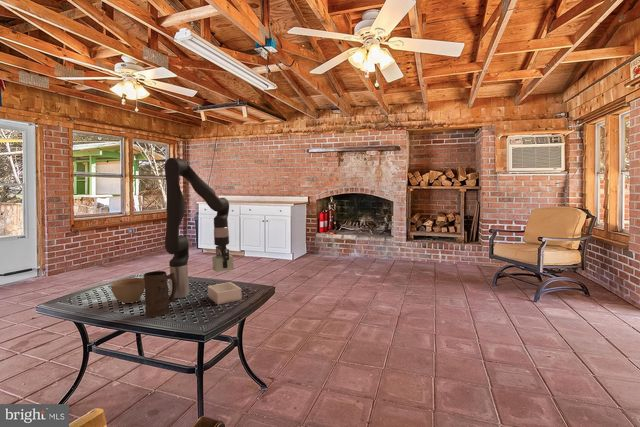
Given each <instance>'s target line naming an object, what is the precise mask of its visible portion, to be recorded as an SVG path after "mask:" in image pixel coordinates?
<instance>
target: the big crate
mask: <svg viewBox="0 0 640 427" xmlns="http://www.w3.org/2000/svg"><path fill="white" fill-rule="evenodd" d="M207 297H208V299H210V300H211V301H213V302H214V303H215V304H217V305H218V306H219V305H223V304H228V303H234V302H236V301H237V302H238V301H241V300H242V299H243V297H242V288H241V287H240V286H238V285H237V284H234V283H233V282H232V281H229V282H224V283H223V282H222V283H218V284H217V283H216V284H213V285H212V284H211V285H208V286H207Z"/></svg>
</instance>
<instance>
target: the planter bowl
mask: <svg viewBox="0 0 640 427" xmlns="http://www.w3.org/2000/svg"><path fill="white" fill-rule="evenodd" d="M110 288H111V291H112V295H113V296H114V297H115V299H116V300H117V301H118V302H119V301H120V302H123V303H131V302H136V301H138V302H140V301H139V300H141V297H142V296H143V294H144V293H145V281H144V277H131V278H130V277H129V278H124V279H119V280H116V281H113V282H112V283H111V284H110ZM120 302H119V303H120ZM136 303H137V302H136Z"/></svg>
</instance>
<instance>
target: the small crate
mask: <svg viewBox="0 0 640 427" xmlns="http://www.w3.org/2000/svg"><path fill="white" fill-rule="evenodd" d="M225 258H226V257H225ZM211 260H212V261H211V262H212V270H213V271H215V272H216V273H218V272H225V271H233V270H234V269H235V268H234V256H233V255H231V254H229V260H228V261H227V266H228V267H227V268H223V260H222V257H221V256H216V255H215V256H211Z"/></svg>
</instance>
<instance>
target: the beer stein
mask: <svg viewBox="0 0 640 427" xmlns="http://www.w3.org/2000/svg"><path fill="white" fill-rule="evenodd" d="M143 278H144V281H145V289H144V300H145V303H144V305H145V308H144V310H145V311H144V312H145V314H144V315H145V316H146V317H148V316H149V318H157V317H156V316H158V317H162V316H165V315H167V314H169V313H170V312H171V310H170V307H169V306H170V303H176V299H177V298H175V297H174V296H175V293H176V289H177V281H176V279H175V275H174V273H170V272H169V274H167V272H166V271H164V270H156V271H149V272H146V273H144V274H143ZM170 279H171V280H172V293H171V296H169V286H168V285H169V284H168V281H169V280H170Z"/></svg>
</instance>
